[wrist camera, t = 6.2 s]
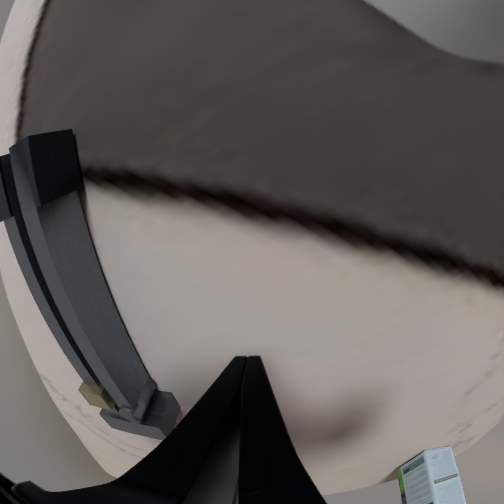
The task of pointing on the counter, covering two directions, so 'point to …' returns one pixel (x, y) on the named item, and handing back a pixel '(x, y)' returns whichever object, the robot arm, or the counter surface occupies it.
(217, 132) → the counter surface
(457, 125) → the counter surface
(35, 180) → the tongs arm
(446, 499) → the syrup box
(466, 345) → the counter surface
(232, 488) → the robot arm
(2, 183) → the tongs
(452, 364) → the counter surface
